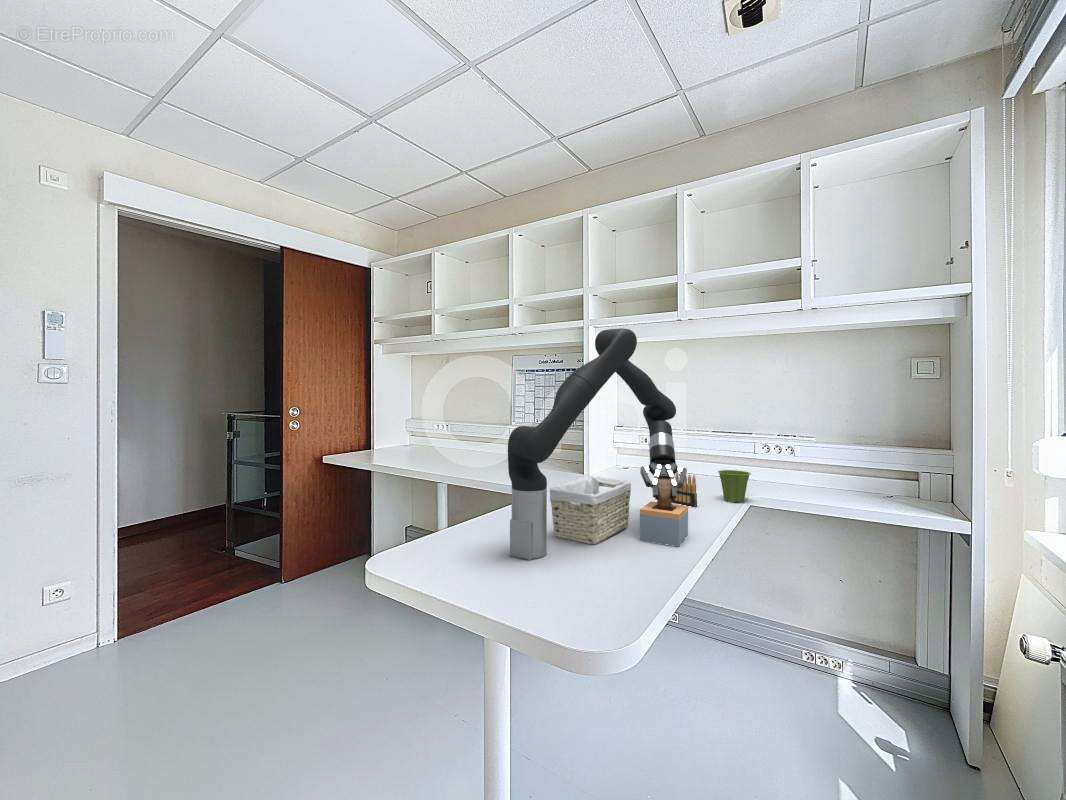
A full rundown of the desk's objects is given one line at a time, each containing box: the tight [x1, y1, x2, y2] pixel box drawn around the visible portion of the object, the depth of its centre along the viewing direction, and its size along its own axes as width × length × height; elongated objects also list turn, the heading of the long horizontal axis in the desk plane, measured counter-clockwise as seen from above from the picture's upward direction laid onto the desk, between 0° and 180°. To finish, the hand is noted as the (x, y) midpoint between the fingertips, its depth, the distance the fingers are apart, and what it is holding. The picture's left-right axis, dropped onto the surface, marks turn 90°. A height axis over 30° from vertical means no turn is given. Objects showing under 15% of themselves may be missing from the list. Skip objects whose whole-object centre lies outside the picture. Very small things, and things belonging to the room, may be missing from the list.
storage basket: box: [549, 475, 632, 545], centre depth 143 cm, size 24×16×15 cm
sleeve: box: [639, 500, 689, 547], centre depth 136 cm, size 11×11×9 cm
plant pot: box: [717, 469, 752, 503], centre depth 184 cm, size 12×12×11 cm
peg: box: [656, 479, 673, 511], centre depth 136 cm, size 4×4×9 cm
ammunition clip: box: [672, 472, 698, 508], centre depth 178 cm, size 11×2×12 cm, turn 41°
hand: (665, 498), depth 134 cm, fingers closed on peg, 4 cm apart
